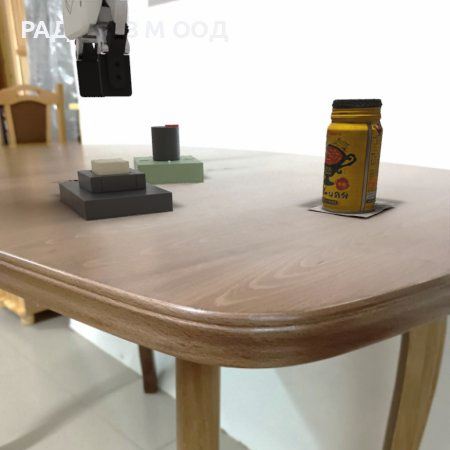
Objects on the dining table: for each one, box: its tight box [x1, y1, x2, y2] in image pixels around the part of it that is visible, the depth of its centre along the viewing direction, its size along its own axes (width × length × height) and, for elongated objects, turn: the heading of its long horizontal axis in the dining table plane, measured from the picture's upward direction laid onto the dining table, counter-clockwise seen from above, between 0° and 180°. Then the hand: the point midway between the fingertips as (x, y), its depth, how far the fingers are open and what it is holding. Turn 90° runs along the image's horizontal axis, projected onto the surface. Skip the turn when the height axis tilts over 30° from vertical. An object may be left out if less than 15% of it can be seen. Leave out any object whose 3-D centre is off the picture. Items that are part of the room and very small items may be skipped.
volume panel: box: [132, 154, 205, 185], centre depth 79 cm, size 11×10×3 cm
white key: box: [90, 157, 130, 176], centre depth 58 cm, size 4×4×2 cm
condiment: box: [309, 98, 395, 218], centre depth 55 cm, size 7×8×12 cm
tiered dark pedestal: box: [58, 167, 174, 222], centre depth 59 cm, size 14×10×4 cm
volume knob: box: [150, 123, 181, 161], centre depth 78 cm, size 4×4×5 cm
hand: (104, 96), depth 55 cm, fingers open, 9 cm apart
